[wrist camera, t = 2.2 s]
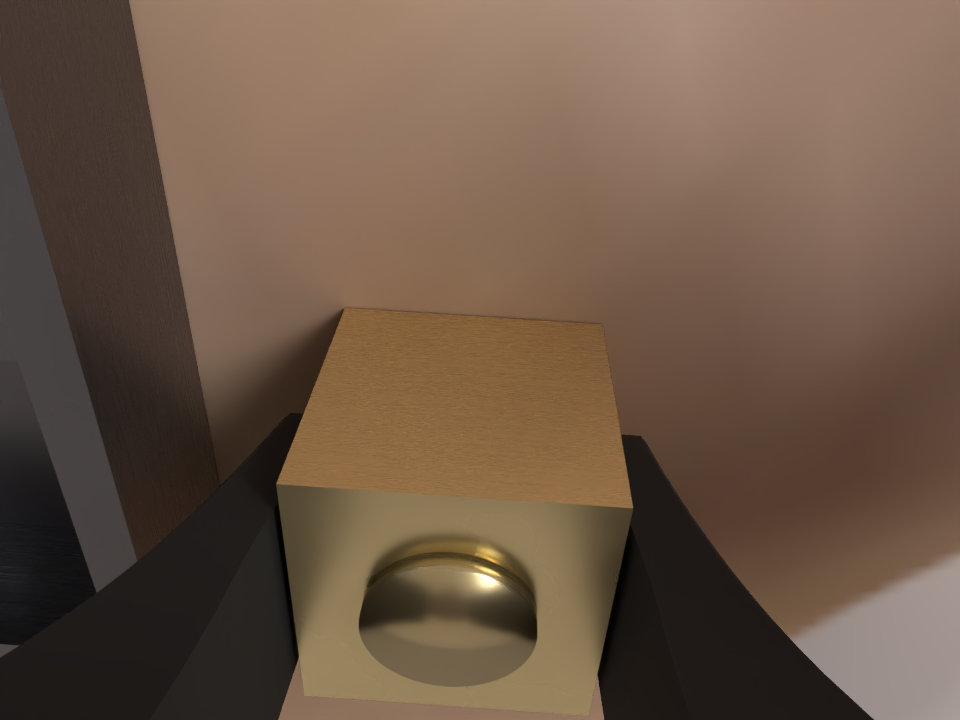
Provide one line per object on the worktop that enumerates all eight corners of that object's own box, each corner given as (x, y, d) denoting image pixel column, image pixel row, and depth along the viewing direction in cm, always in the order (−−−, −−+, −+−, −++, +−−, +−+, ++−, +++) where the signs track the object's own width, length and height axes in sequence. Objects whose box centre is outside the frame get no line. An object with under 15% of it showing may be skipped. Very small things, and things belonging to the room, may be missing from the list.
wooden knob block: (602, 324, 12) (637, 528, 8) (572, 511, 14) (590, 736, 11) (345, 307, 12) (269, 503, 8) (355, 497, 14) (298, 715, 11)
